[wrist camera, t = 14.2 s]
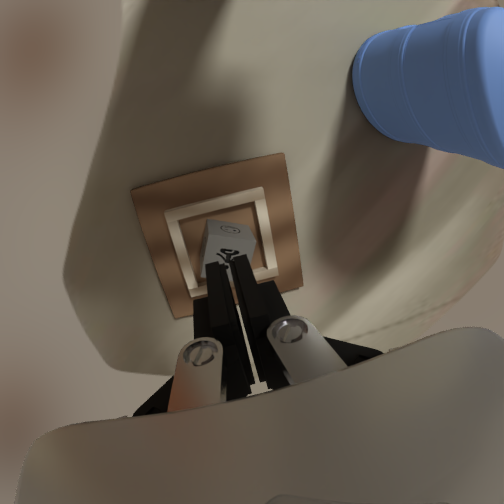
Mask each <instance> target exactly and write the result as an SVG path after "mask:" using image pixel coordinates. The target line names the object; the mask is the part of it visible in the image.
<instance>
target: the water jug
mask: <svg viewBox="0 0 504 504" xmlns="http://www.w3.org/2000/svg"><path fill="white" fill-rule="evenodd" d="M352 79H353V88H354V92H355V96H356V99H357V102H358V104H359V106H360V108H361V110H362V112H363V114H364V115H365V117H366V118H367V119H368V121H369V122H370V123H371V124H372V125H373V126H374V127H375V128H376V129H377V130H378V131H379V132H381V133H382V134H383V135H385V136H387V137H389V138H391V139H393V140H397V141H401V142H406V143H416V144H421V145H425V146H429V147H432V148H434V149H437V150H441V151H445V152H449V153H457V154H461V155H465V156H468V157H472V158H475V159H479V160H482V161H484V162H486V163H488V164H491V165H493V166H496V167H499V168H502V169H504V8H501V7H490V8H489V7H480V8H473V9H468V10H465V11H462V12H460V13H455V14H450V15H446V16H444V17H442V18H440V19H437V20H435V21H432V22H428V23H424V24H420V25H408V26H404V27H400V28H397V29H394V30H388V31H384V32H381V33H378V34H375V35H373V36H372V37H370V38H369V39H367V40H366V41H365V42H364V43H363V44H362V46H361V47H360V48H359V50H358V52H357V54H356V57H355V60H354V64H353V72H352Z"/></svg>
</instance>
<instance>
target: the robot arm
mask: <svg viewBox="0 0 504 504" xmlns="http://www.w3.org/2000/svg"><path fill="white" fill-rule="evenodd" d="M233 259H234V261H231V262H229V266H230V270H231V274H232V278H233V282H234V287H235V291H236V295H237V299H238V303H239V307H240V311H241V315H242V319H243V323H244V327H245V331H246V334H247V338H248V341H249V345H250V349H251V352H252V356H253V359H254V363H255V366H256V370H257V373H258V377H259V380H260V382H264V381H266V383H267V387H268V389H270V388H271V389H273V390H271V391H268V392H264V393H260V394H256V395H252V396H248V397H246V396H247V395H248V394H251V393H252V392H251V388H250V385H252V384H255V381H254V376H253V372H252V368H251V364H250V360H249V356H248V352H247V347H246V343H245V339H244V335H243V331H242V326H241V322H240V318H239V315H238V311H237V308H236V304H235V300H234V297H233V293H232V289H231V286H230V282H229V278H228V274H227V271H226V267H225V263H223V264H219V261H216V262H212V263H208V264H205V271H206V282H207V293H208V296H207V297H203V298H199V299H195V300H193V321H194V340H192V341H190V342H188V343H187V344H186V345H184V347H183V348H182V349H181V350H180V353H179V355H178V359H177V364H176V369H175V374H174V376H172V377H171V378H170V379H169V380H168V381H167V382H166V383H165V384H164V385H163V386H162V387H161V388H160V389H159V390H158V391H157V392H155V393H154V395H152V396H151V397H150V398H149V399H148V400H147V401H146V402H145V403H144V404H143V405H141V406H140V407H139V408H138V409H137V410H136V412H135V413H134V414H133V416H132V417H127V416H123V417H120V418H117V419H109V420H100V421H90V422H83V423H76V424H70V425H67V426H63V427H59V428H57V429H54V430H52V431H49V432H47V433H45V434H44V435H42V436H41V437H39V438H38V439H36V440H35V441H34V442H33V444H32V446H31V447H30V448H29V450H28V453H27V455H26V457H25V460H24V463H23V466H22V469H21V473H20V477H19V481H18V486H17V490H16V496H15V501H14V504H504V339H503V338H502V337H501V336H499V335H498V334H496V333H495V332H493V331H491V330H489V329H486V328H481V327H463V328H455V329H450V330H446V331H442V332H439V333H436V334H433V335H430V336H427V337H424V338H422V339H419V340H417V341H414V342H412V343H409V344H407V345H404V346H401V347H397V348H392V349H389V352H387V353H383V352H381V351H379V350H376V349H372V348H368V347H364V346H359V345H355V344H351V343H347V342H343V341H339V340H335V339H331V338H327V337H323V336H322V335H321V334H320V333H319V331H318V330H317V329H316V328H315V327H314V325H313V324H312V323H311V322H310V321H309V320H308V319H307V318H304V317H302V316H296V315H292V316H291V315H290V313H289V311H288V309H287V307H286V305H285V303H284V300H283V298H282V296H281V294H280V292H279V290H278V287H277V285H276V283H275V281H274V280H271V281H267V282H263V283H259V284H257V282H256V279H255V276H254V273H253V271H252V268H251V265H250V263H249V260H248V257H247V254H244V255H240V256H236V257H233Z"/></svg>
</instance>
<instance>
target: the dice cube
mask: <svg viewBox="0 0 504 504" xmlns="http://www.w3.org/2000/svg"><path fill="white" fill-rule="evenodd" d="M255 245H256V240H255V237H254V235H253V233H252V231H251V229H250V227H249V225H243V224H237V223H231V222H225V221H219V220H213V219H207V221H206V226H205V232H204V237H203V242H202V248H201V253H200V272H201V277H203V278H206V271H205V264H208V263H212V262H216V261H219V264H223V263H225V267H226V271H227V274H228V278H229V281H233V278H232V274H231V270H230V266H229V262H231V261H234V259H233V257H236V256H240V255H244V254H247V257H248V260H249V263H250V264H251V260H252V257H253V253H254V249H255Z"/></svg>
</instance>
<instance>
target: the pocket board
mask: <svg viewBox="0 0 504 504" xmlns="http://www.w3.org/2000/svg"><path fill="white" fill-rule="evenodd" d="M130 193H131V196H132V199H133V203H134V206H135V209H136V212H137V215H138V218H139V221H140V225H141V228H142V231H143V234H144V237H145V239H146V242H147V245H148V248H149V251H150V254H151V257H152V259H153V262H154V265H155V268H156V270H157V273H158V276H159V278H160V281H161V284H162V286H163V289H164V292H165V294H166V297H167V299H168V302H169V304H170V307H171V309H172V312H173V314H174V317H175V318H180V317H184V316H188V315H193V300H195V299H199V298H203V297H207V296H208V293H207V282H206V278H203V277H201V272H200V253H201V248H202V242H203V237H204V232H205V226H206V221H207V219H213V220H219V221H225V222H231V223H237V224H243V225H249V227H250V229H251V231H252V233H253V235H254V237H255V240H256V245H255V249H254V253H253V257H252V260H251V264H250V265H251V268H252V271H253V273H254V276H255V279H256V282H257V284H259V283H263V282H267V281H271V280H274V281H275V283H276V285H277V287H278V290H279V292H284V291H287V290H291V289H295V288H298V287H302V286H303V277H302V269H301V262H300V254H299V246H298V239H297V232H296V225H295V218H294V211H293V204H292V198H291V191H290V185H289V179H288V173H287V167H286V161H285V155H284V153H277V154H272V155H267V156H262V157H257V158H252V159H247V160H243V161H238V162H234V163H229V164H225V165H221V166H216V167H212V168H208V169H204V170H200V171H196V172H192V173H188V174H184V175H181V176H177V177H173V178H170V179H166V180H162V181H159V182H155V183H152V184H148V185H145V186H142V187H138V188H135V189H132V190H131V191H130ZM229 282H230V286H231V289H232V293H233V297H234V300H235V304H238V299H237V295H236V291H235V287H234V282H233V281H229Z"/></svg>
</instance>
